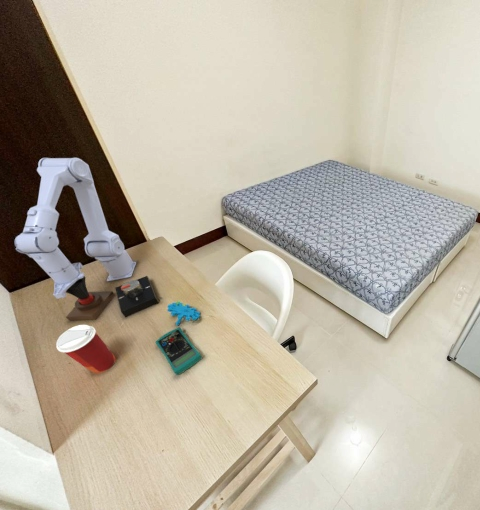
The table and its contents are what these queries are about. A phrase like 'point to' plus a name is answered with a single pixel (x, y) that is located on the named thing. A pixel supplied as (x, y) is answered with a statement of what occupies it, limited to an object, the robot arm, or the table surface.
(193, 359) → the digital multimeter
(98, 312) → the button block
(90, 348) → the paper cup
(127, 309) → the dial panel
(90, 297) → the button
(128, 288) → the dial
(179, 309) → the blue toy tree
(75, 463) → the table surface
